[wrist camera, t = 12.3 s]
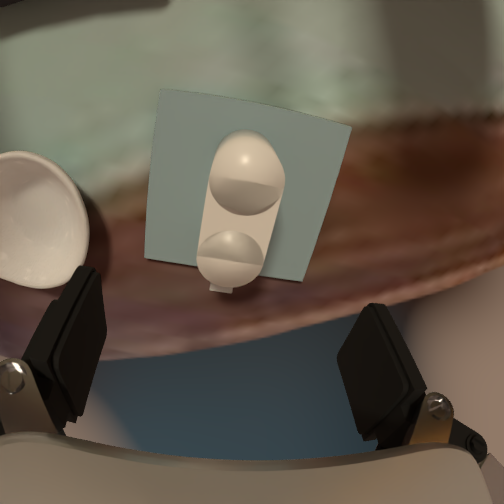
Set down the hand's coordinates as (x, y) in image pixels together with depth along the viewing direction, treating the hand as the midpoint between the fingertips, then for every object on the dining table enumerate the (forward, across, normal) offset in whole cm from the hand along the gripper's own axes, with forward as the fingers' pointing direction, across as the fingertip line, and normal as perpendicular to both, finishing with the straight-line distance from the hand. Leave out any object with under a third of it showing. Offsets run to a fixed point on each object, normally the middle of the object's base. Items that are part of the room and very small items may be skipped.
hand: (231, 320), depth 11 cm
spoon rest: (+15, +21, +4) cm, 26 cm away
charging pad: (+14, -1, +1) cm, 14 cm away
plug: (+13, -1, 0) cm, 13 cm away
